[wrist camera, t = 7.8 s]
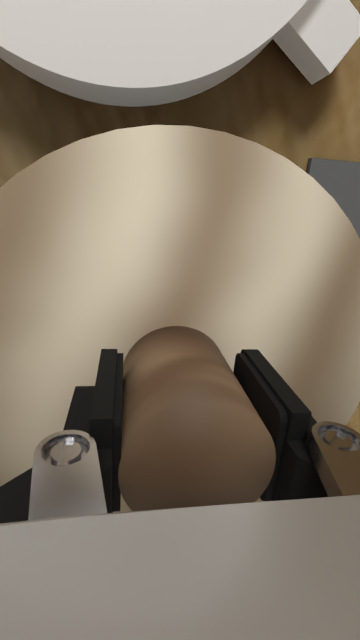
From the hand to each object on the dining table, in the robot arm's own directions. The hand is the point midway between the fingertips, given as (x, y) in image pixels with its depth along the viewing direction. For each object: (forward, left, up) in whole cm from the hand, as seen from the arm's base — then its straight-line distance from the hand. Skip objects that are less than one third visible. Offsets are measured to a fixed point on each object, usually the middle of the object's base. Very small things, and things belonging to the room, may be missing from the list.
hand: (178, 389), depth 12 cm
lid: (0, 0, -2) cm, 2 cm away
